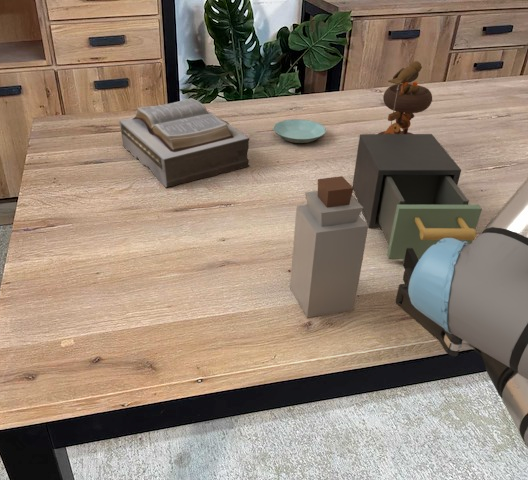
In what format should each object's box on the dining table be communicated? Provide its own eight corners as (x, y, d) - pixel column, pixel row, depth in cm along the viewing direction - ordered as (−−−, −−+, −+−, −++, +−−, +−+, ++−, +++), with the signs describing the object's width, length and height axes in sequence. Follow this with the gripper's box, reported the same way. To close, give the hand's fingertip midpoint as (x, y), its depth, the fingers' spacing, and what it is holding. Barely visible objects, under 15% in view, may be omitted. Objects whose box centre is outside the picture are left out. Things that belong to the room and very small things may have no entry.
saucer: (331, 132, 125) (332, 123, 124) (315, 151, 116) (316, 141, 115) (283, 125, 130) (284, 116, 128) (265, 142, 121) (265, 133, 120)
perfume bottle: (333, 280, 78) (349, 168, 68) (353, 310, 72) (374, 193, 63) (289, 287, 77) (299, 174, 67) (306, 317, 71) (319, 199, 62)
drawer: (479, 279, 76) (496, 226, 71) (396, 278, 77) (408, 226, 72) (437, 214, 91) (449, 166, 87) (369, 213, 92) (377, 166, 87)
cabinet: (446, 228, 89) (461, 169, 83) (368, 228, 90) (378, 170, 84) (419, 187, 102) (431, 133, 96) (352, 187, 102) (359, 134, 96)
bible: (214, 127, 129) (214, 87, 124) (256, 173, 108) (258, 127, 102) (119, 140, 124) (114, 98, 118) (143, 192, 102) (138, 144, 97)
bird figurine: (415, 172, 107) (427, 71, 96) (361, 165, 112) (367, 68, 102) (432, 145, 118) (444, 51, 107) (382, 140, 123) (389, 50, 113)
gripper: (401, 408, 53) (359, 279, 71) (658, 413, 52) (551, 281, 70) (415, 354, 49) (367, 231, 67) (695, 359, 48) (571, 233, 66)
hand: (461, 256), depth 69 cm, fingers open, 13 cm apart
